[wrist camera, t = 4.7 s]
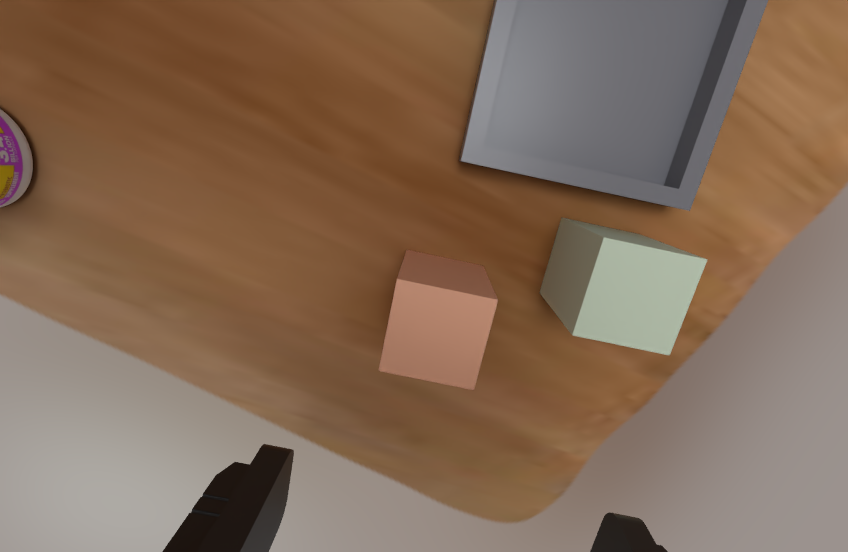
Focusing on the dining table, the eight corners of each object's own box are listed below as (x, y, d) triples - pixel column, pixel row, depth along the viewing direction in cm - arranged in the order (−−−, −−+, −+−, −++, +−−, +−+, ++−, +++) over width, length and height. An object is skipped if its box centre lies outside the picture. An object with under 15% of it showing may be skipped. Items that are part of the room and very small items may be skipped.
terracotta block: (392, 321, 29) (378, 370, 22) (406, 249, 28) (397, 278, 21) (465, 336, 29) (473, 389, 22) (483, 265, 28) (498, 299, 21)
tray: (458, 160, 26) (460, 161, 24) (514, -92, 23) (524, -122, 20) (666, 205, 26) (689, 210, 24) (752, -36, 23) (789, -59, 21)
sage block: (539, 292, 28) (572, 335, 21) (561, 217, 27) (603, 237, 20) (613, 308, 28) (669, 355, 22) (639, 234, 27) (707, 259, 20)
